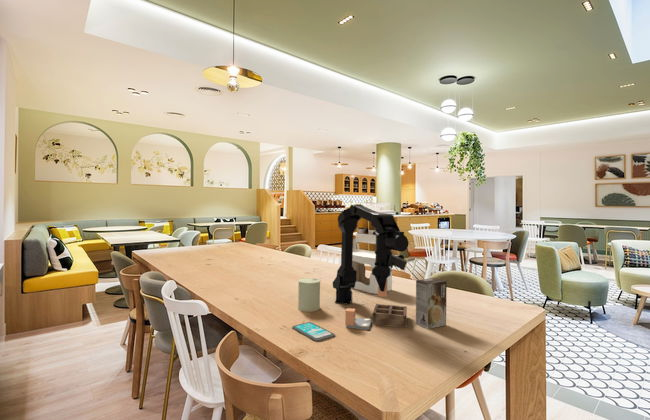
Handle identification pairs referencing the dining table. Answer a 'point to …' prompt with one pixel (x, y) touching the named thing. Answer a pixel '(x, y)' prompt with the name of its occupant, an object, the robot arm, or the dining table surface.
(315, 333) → the smartphone
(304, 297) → the can
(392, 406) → the dining table surface
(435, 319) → the coffee box
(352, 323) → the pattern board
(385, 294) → the peg
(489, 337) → the dining table surface
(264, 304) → the dining table surface
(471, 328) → the dining table surface
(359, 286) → the gable box
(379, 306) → the socket block
